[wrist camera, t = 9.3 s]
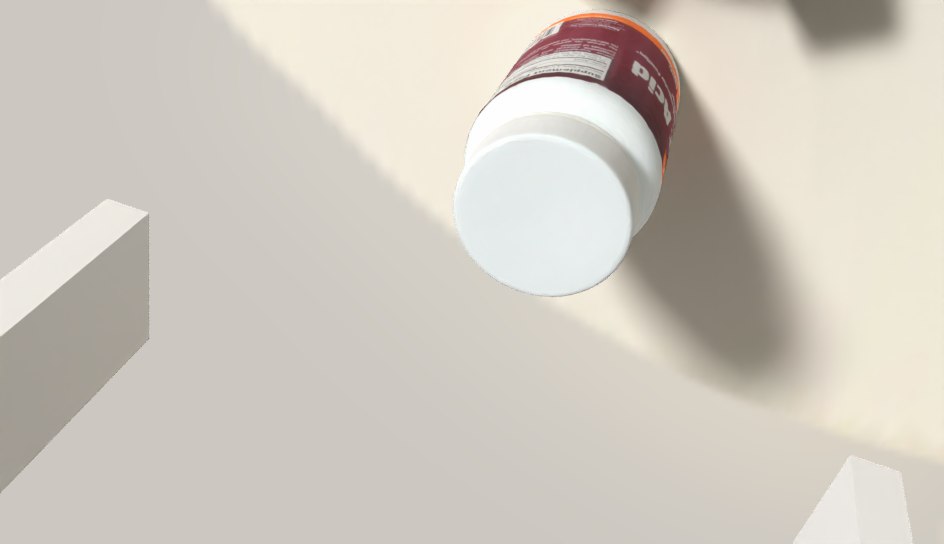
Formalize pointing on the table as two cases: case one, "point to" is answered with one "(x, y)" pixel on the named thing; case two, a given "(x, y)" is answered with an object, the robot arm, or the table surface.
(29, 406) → the robot arm
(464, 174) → the pill bottle
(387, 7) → the table surface
